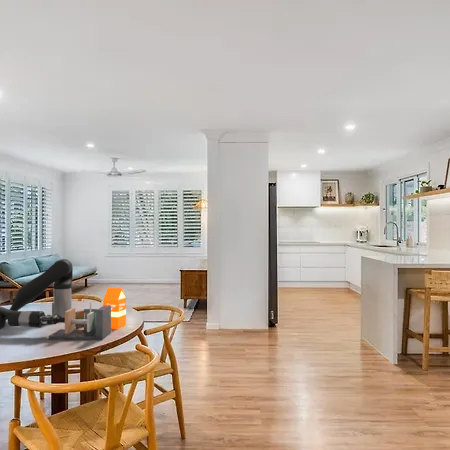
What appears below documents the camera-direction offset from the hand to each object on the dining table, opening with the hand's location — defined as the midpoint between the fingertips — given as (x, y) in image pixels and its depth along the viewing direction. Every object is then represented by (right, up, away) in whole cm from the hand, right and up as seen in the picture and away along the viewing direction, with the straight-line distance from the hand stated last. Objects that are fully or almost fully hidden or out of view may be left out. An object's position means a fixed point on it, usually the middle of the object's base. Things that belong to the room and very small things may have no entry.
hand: (68, 320), depth 183 cm
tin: (+1, -8, +20) cm, 22 cm away
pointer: (+10, -5, 0) cm, 11 cm away
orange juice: (+16, -8, +19) cm, 26 cm away
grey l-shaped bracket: (+5, -8, +1) cm, 9 cm away
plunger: (+5, -5, 0) cm, 7 cm away
